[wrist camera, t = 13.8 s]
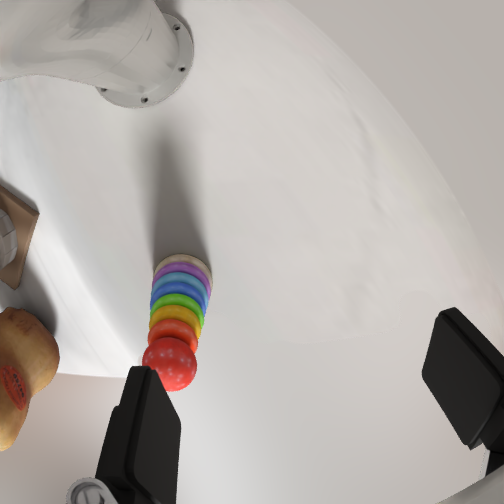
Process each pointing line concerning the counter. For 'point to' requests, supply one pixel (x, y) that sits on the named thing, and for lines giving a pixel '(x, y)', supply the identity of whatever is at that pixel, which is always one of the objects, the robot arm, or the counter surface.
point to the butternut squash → (22, 368)
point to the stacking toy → (177, 318)
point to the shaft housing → (14, 236)
